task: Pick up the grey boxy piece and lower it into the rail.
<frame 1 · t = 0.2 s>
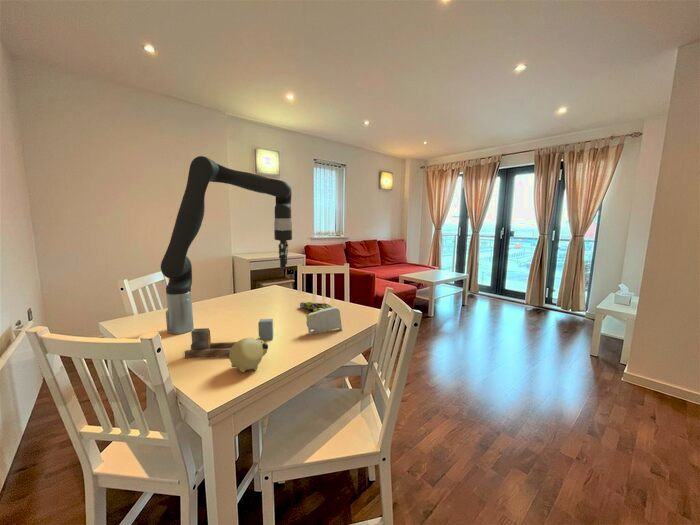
hand: (283, 265, 129), 28 cm above the table, tool pointing down, fingers open, 8 cm apart
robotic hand: (318, 312, 156), on the table
toy pig: (249, 368, 97), on the table
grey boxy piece: (266, 338, 121), on the table
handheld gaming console: (324, 332, 129), on the table
rail: (217, 352, 108), on the table
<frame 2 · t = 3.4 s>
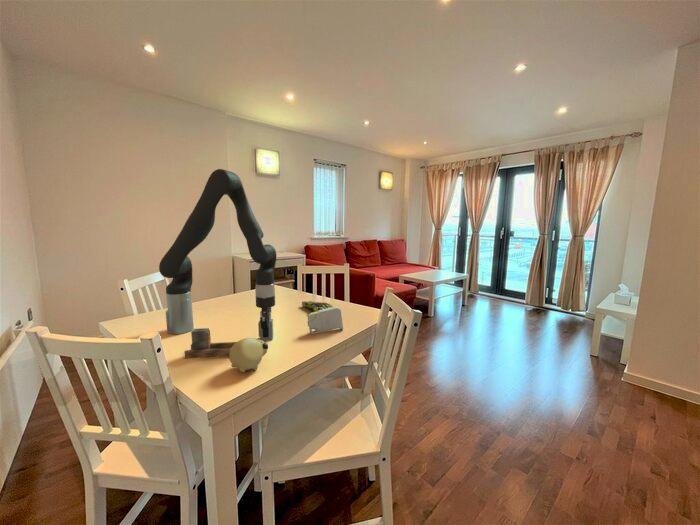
hand: (266, 334, 120), 2 cm above the table, tool pointing down, fingers closed on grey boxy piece, 3 cm apart
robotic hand: (318, 312, 157), on the table
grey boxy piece: (266, 338, 121), on the table, touching gripper
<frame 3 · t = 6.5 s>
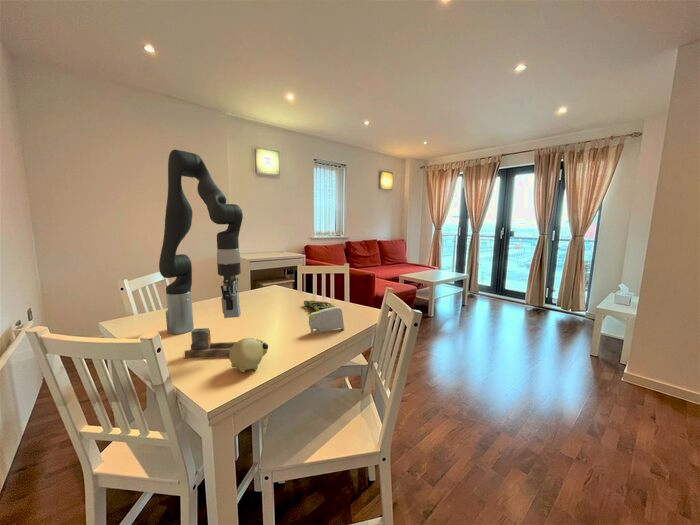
hand: (231, 308, 106), 17 cm above the table, tool pointing down, fingers closed on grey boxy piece, 3 cm apart
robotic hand: (320, 311, 159), on the table
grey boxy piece: (232, 316, 106), point 14 cm above the table, touching gripper
when the fingers open (4 cm above the table, at t = 9.4 s): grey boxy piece stays where it is, resting on rail.
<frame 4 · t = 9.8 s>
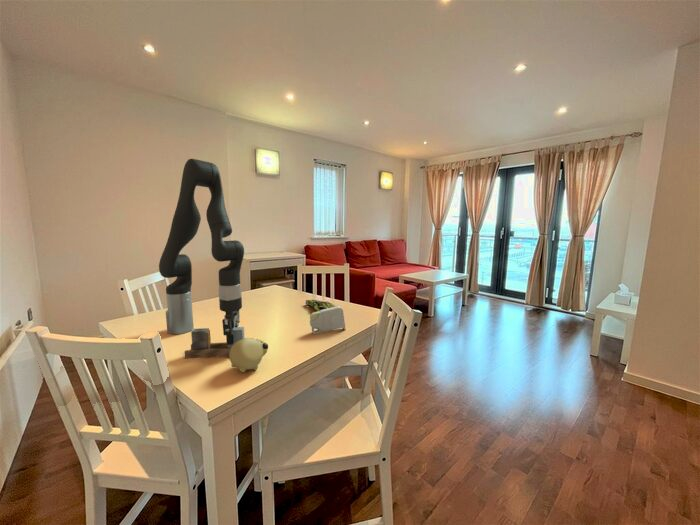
hand: (232, 340, 108), 5 cm above the table, tool pointing down, fingers open, 6 cm apart
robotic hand: (320, 310, 160), on the table
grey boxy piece: (236, 349, 108), point 1 cm above the table, touching rail
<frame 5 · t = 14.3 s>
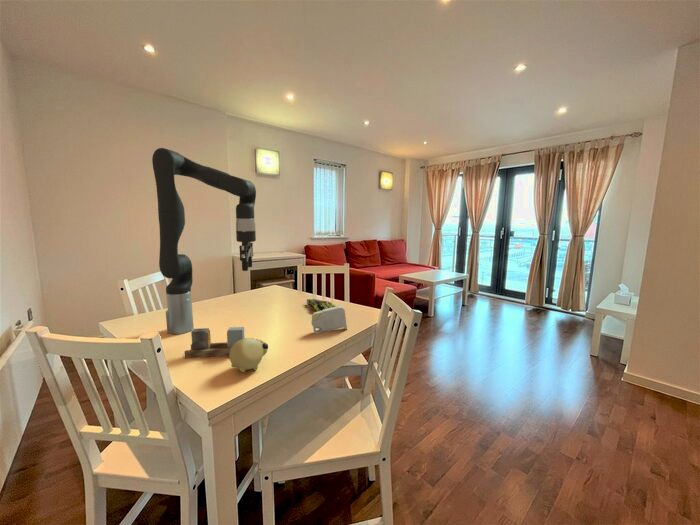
hand: (247, 268, 122), 28 cm above the table, tool pointing down, fingers open, 8 cm apart
at the end: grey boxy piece 1.4 cm from the target spot on the rail, point 1.0 cm above the rail's base; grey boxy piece tilted 0°; the gripper is holding nothing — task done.
